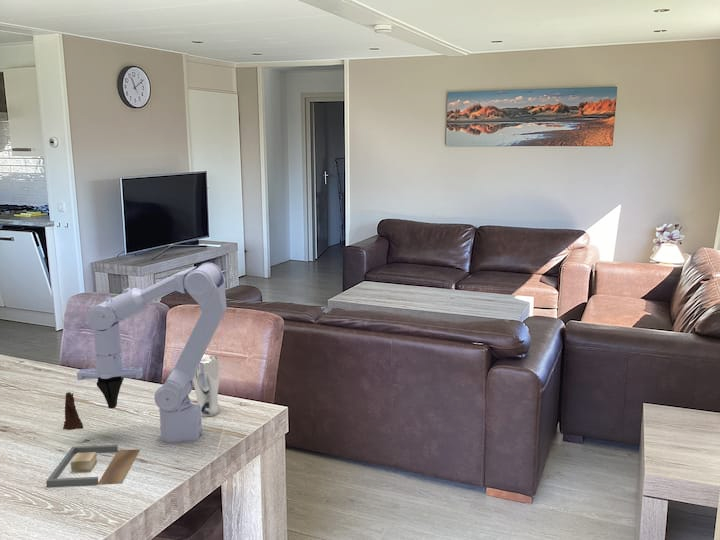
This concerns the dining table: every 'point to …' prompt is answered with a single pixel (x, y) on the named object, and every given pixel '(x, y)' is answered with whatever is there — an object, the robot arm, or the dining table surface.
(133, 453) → the walnut board
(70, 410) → the chess piece
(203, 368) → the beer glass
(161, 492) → the dining table surface
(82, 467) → the birch block
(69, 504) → the dining table surface
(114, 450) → the box
